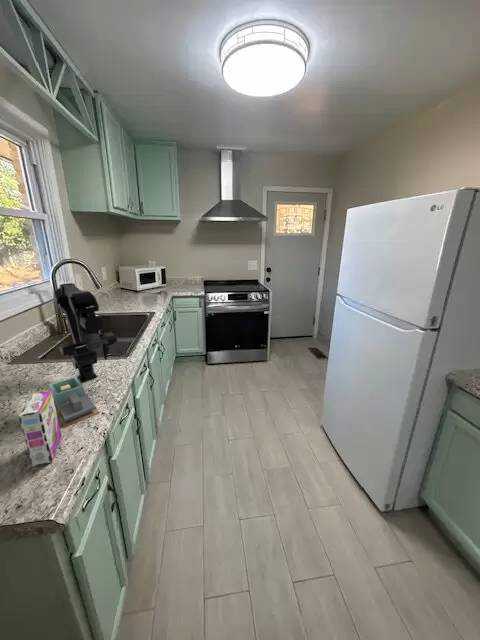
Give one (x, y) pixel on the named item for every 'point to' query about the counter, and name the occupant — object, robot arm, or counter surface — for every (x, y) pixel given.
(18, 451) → the counter surface
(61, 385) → the storage box
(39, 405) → the candy bar box
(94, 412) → the walnut board
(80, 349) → the robot arm
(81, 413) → the lid
